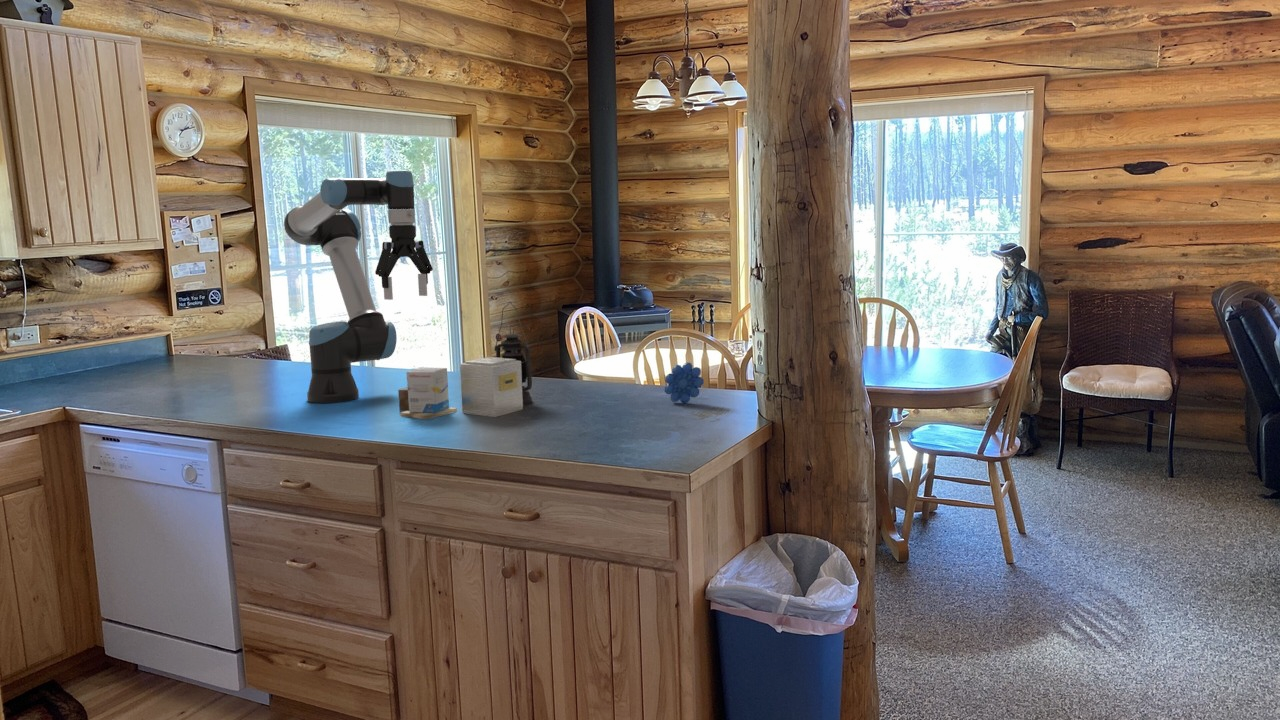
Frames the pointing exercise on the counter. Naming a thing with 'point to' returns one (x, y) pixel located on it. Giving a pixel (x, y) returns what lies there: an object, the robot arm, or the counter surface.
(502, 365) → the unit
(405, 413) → the board
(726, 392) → the counter surface
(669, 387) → the blue flower
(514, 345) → the lantern
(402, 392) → the walnut block
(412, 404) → the ink box
